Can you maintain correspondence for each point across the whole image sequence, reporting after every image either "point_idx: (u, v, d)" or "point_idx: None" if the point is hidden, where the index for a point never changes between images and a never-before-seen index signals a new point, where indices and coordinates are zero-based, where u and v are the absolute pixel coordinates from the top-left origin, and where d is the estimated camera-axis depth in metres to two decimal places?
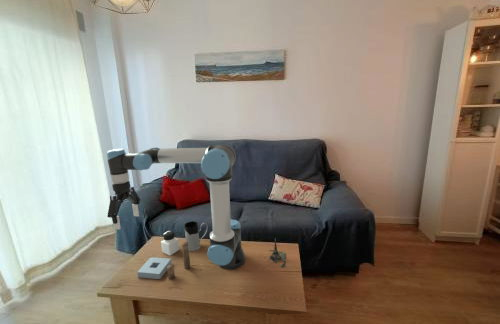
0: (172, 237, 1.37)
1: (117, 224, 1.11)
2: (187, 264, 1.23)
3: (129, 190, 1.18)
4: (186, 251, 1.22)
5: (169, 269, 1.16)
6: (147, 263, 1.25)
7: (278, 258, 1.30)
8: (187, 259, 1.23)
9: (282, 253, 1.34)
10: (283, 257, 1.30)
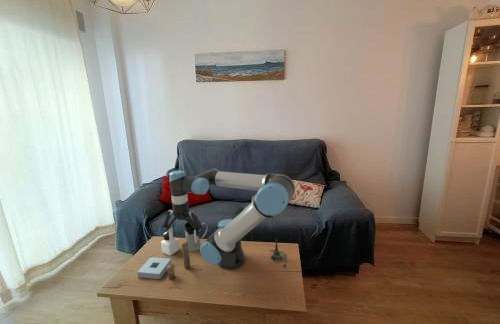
0: None
1: None
2: (187, 264, 1.23)
3: (186, 213, 1.17)
4: (186, 251, 1.22)
5: (169, 269, 1.16)
6: (147, 263, 1.25)
7: (279, 258, 1.30)
8: (187, 259, 1.23)
9: (283, 253, 1.34)
10: (284, 257, 1.30)
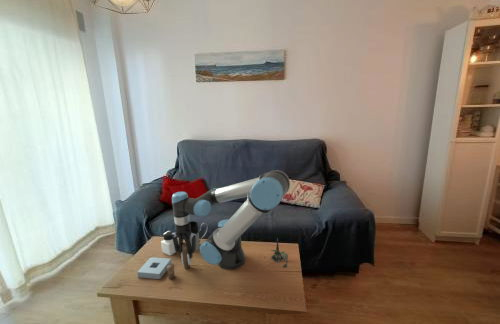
0: None
1: None
2: (187, 264, 1.23)
3: (188, 234, 1.19)
4: (186, 251, 1.22)
5: (169, 269, 1.16)
6: (147, 263, 1.25)
7: (280, 258, 1.30)
8: (187, 259, 1.23)
9: (284, 253, 1.34)
10: (285, 257, 1.30)
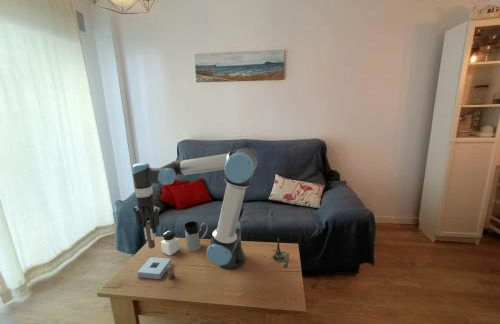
0: (172, 237, 1.37)
1: None
2: (151, 243, 1.19)
3: (151, 207, 1.14)
4: None
5: (169, 269, 1.16)
6: (147, 263, 1.25)
7: (281, 258, 1.30)
8: None
9: (285, 253, 1.34)
10: (286, 257, 1.30)
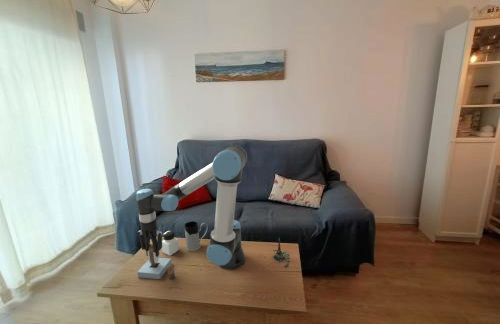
0: (172, 237, 1.37)
1: None
2: (154, 266, 1.22)
3: (154, 232, 1.17)
4: None
5: (169, 269, 1.16)
6: (147, 263, 1.25)
7: (282, 258, 1.30)
8: None
9: (286, 253, 1.34)
10: (287, 257, 1.30)
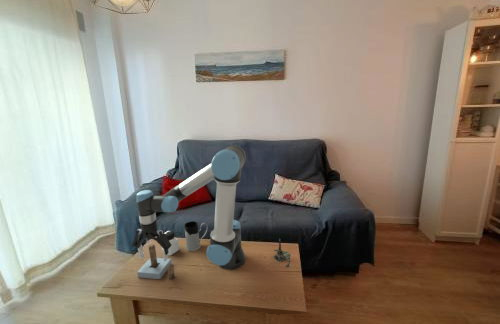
0: (172, 237, 1.37)
1: None
2: (154, 267, 1.22)
3: (154, 233, 1.17)
4: (153, 254, 1.21)
5: (169, 269, 1.16)
6: (147, 263, 1.25)
7: (282, 258, 1.30)
8: (154, 262, 1.22)
9: (287, 253, 1.34)
10: (287, 257, 1.30)
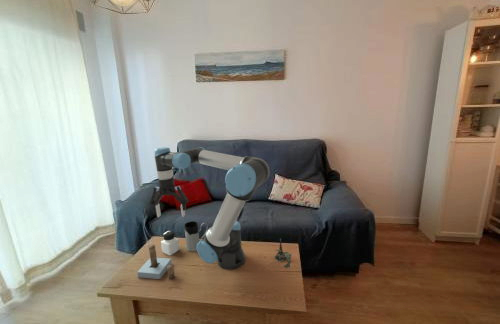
0: (172, 237, 1.37)
1: None
2: (154, 267, 1.22)
3: (172, 188, 1.22)
4: (153, 254, 1.21)
5: (169, 269, 1.16)
6: (147, 263, 1.25)
7: (283, 258, 1.30)
8: (154, 262, 1.22)
9: (288, 253, 1.34)
10: (288, 257, 1.30)
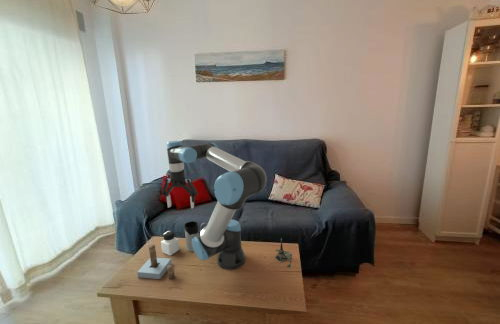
0: (172, 237, 1.37)
1: None
2: (154, 267, 1.22)
3: (183, 181, 1.26)
4: (153, 254, 1.21)
5: (169, 269, 1.16)
6: (147, 263, 1.25)
7: (284, 258, 1.30)
8: (154, 262, 1.22)
9: (288, 253, 1.34)
10: (289, 257, 1.30)
